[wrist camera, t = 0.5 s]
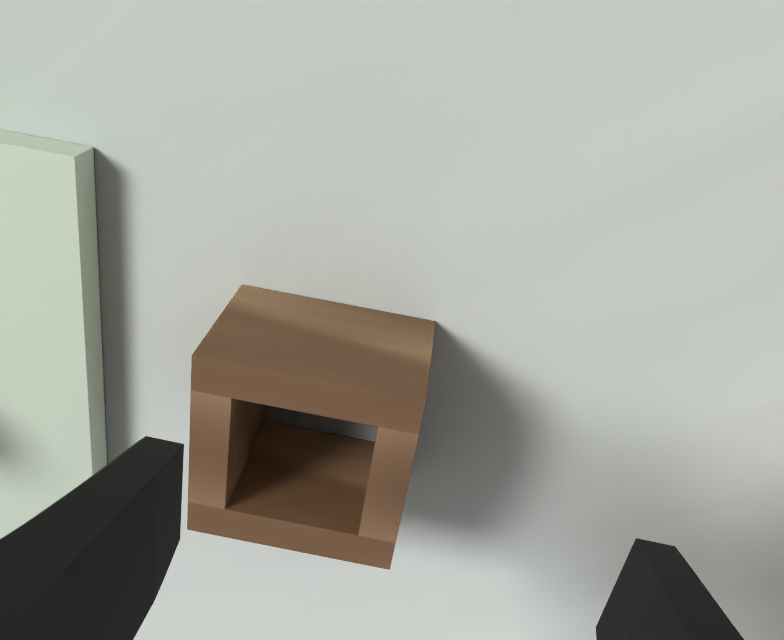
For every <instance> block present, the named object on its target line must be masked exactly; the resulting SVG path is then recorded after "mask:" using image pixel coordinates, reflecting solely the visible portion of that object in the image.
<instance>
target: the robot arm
mask: <svg viewBox="0 0 784 640" xmlns="http://www.w3.org/2000/svg"><path fill="white" fill-rule="evenodd" d="M183 451H184V444H181V443H176V442H171V441H166V440H161V439H157V438H152V437H147V436H146V437H144V438H143V439H141V440H139V441H138V442H137V443H135V444H134V445H133V446H131V447H130V448H128V449H127V450H126V451H124V452H123V453H122V454H120V455H119V456H118V457H116V458H115V459H114V460H112V461H111V462H110V463H108V464H107V465H106V466H104V467H103V468H102V469H100V470H99V471H98V472H96V473H95V474H94V475H92V476H91V477H90V478H88V479H87V480H86V481H84V482H83V483H81V484H80V485H79V486H77V487H76V488H75V489H73V490H72V491H70V492H69V493H68V494H66V495H65V496H63V497H62V498H60V499H59V500H58V501H56V502H55V503H53V504H52V505H50V506H49V507H48V508H46V509H45V510H43V511H42V512H40V513H39V514H38V515H36V516H35V517H33V518H32V519H30V520H29V521H27V522H26V523H24V524H23V525H21V526H20V527H18V528H17V529H15V530H14V531H12V532H10V533H9V534H7V535H6V536H4V537H3V538H1V539H0V640H133V639H134V637H135V635H136V633H137V631H138V630H139V628H140V626H141V624H142V622H143V621H144V619H145V617H146V615H147V613H148V611H149V610H150V608H151V606H152V604H153V602H154V600H155V598H156V596H157V594H158V591H159V589H160V587H161V584H162V582H163V579H164V577H165V575H166V572H167V570H168V567H169V565H170V563H171V560H172V558H173V555H174V553H175V550H176V548H177V545H178V543H179V540H180V524H181V500H182V475H183ZM596 636H597V640H744V639H743V638H742V636H741V635H740V634H739V632H738V631H737V630H736V628H735V627H734V626H733V624H732V623H731V622H730V620H729V619H728V618H727V616H726V615H725V613H724V612H723V611H722V609H721V608H720V607H719V605H718V604H717V603H716V601H715V600H714V598H713V597H712V596H711V594H710V593H709V592H708V590H707V589H706V587H705V586H704V585H703V583H702V582H701V581H700V579H699V578H698V576H697V575H696V574H695V572H694V571H693V570H692V568H691V567H690V566H689V564H688V563H687V562H686V560H685V559H684V558H683V556H682V555H681V554H680V552H679V551H678V550H677V548H676V547H675V546H670V545H666V544H661V543H656V542H651V541H646V540H642V539H637V538H636V540H635V542H634V544H633V546H632V548H631V551H630V553H629V555H628V557H627V560H626V562H625V564H624V566H623V568H622V571H621V573H620V575H619V577H618V579H617V582H616V584H615V586H614V588H613V590H612V593H611V595H610V597H609V599H608V602H607V604H606V606H605V608H604V610H603V613H602V615H601V617H600V619H599V621H598V624H597V626H596Z"/></svg>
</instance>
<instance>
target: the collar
mask: <svg viewBox="0 0 784 640" xmlns="http://www.w3.org/2000/svg"><path fill="white" fill-rule="evenodd" d="M435 322H436V321H430V320H425V319H420V318H415V317H409V316H404V315H399V314H394V313H388V312H383V311H378V310H373V309H367V308H362V307H357V306H352V305H346V304H341V303H336V302H331V301H325V300H320V299H315V298H310V297H304V296H299V295H294V294H289V293H283V292H278V291H273V290H268V289H262V288H257V287H252V286H247V285H241V287H240V288H239V289H238V291H237V292H236V294H235V295H234V296H233V298H232V299H231V301H230V302H229V304H228V305H227V306H226V308H225V309H224V311H223V312H222V313H221V315H220V316H219V318H218V319H217V321H216V322H215V323H214V325H213V326H212V328H211V329H210V330H209V332H208V333H207V335H206V336H205V338H204V339H203V340H202V342H201V343H200V345H199V346H198V347H197V349H196V350H195V352H194V353H193V355H192V369H191V407H190V445H189V483H188V521H187V529H188V530H193V531H198V532H203V533H208V534H213V535H218V536H223V537H228V538H233V539H238V540H243V541H248V542H253V543H258V544H263V545H268V546H273V547H278V548H283V549H288V550H293V551H298V552H303V553H308V554H313V555H318V556H323V557H328V558H333V559H338V560H344V561H349V562H354V563H359V564H364V565H369V566H374V567H379V568H384V569H389V570H390V565H391V561H392V556H393V552H394V547H395V542H396V538H397V533H398V529H399V524H400V519H401V515H402V510H403V506H404V501H405V496H406V492H407V487H408V483H409V478H410V474H411V469H412V464H413V460H414V455H415V451H416V446H417V441H418V437H419V432H420V428H421V423H422V418H423V414H424V409H425V405H426V400H427V391H428V382H429V374H430V365H431V357H432V348H433V340H434V331H435ZM266 405H269V406H274V407H279V408H284V409H289V410H294V411H299V412H305V413H310V414H315V415H320V416H325V417H330V418H336V419H341V420H346V421H351V422H356V423H361V424H366V425H372V426H377V427H378V429H377V435H376V440H375V442H370V441H365V440H360V439H355V438H350V437H345V436H339V435H334V434H329V433H324V432H319V431H314V430H309V429H304V428H298V427H293V426H288V425H283V424H278V423H273V422H268V421H265V414H266Z"/></svg>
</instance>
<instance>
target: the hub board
mask: <svg viewBox="0 0 784 640" xmlns="http://www.w3.org/2000/svg"><path fill="white" fill-rule="evenodd" d="M106 465H107V449H106V426H105V403H104V381H103V358H102V335H101V312H100V289H99V267H98V244H97V221H96V198H95V175H94V152H93V147H90V146H84V145H79V144H73V143H68V142H63V141H57V140H52V139H47V138H41V137H36V136H31V135H25V134H20V133H15V132H9V131H4V130H0V539H1V538H3V537H4V536H6V535H7V534H9V533H10V532H12V531H14V530H15V529H17V528H18V527H20V526H21V525H23V524H24V523H26V522H27V521H29V520H30V519H32V518H33V517H35V516H36V515H38V514H39V513H40V512H42V511H43V510H45V509H46V508H48V507H49V506H50V505H52V504H53V503H55V502H56V501H58V500H59V499H60V498H62V497H63V496H65V495H66V494H68V493H69V492H70V491H72V490H73V489H75V488H76V487H77V486H79V485H80V484H81V483H83V482H84V481H86V480H87V479H88V478H90V477H91V476H92V475H94V474H95V473H96V472H98V471H99V470H100V469H102V468H103V467H104V466H106Z"/></svg>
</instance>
